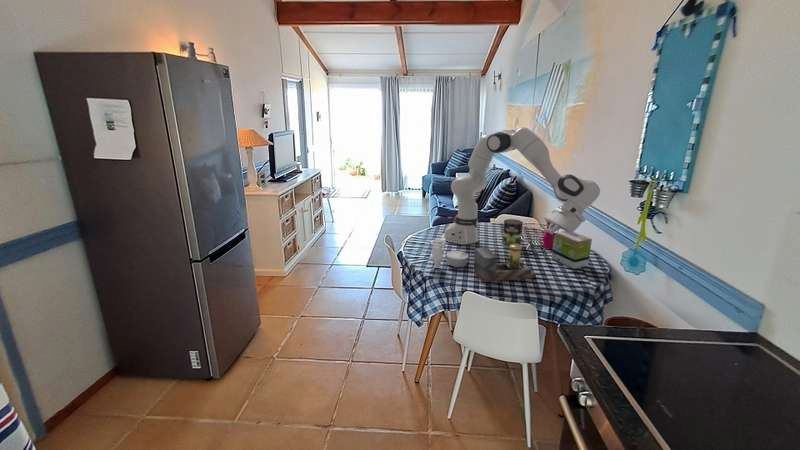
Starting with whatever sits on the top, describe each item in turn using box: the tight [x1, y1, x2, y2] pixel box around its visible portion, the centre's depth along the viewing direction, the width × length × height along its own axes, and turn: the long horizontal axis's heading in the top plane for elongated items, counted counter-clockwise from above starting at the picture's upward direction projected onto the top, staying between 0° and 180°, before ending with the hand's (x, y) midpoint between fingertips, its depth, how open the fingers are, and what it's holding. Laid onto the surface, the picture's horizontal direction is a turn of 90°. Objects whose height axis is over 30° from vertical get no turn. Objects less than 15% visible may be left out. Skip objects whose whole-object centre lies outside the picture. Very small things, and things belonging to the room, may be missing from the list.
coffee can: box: [501, 218, 524, 249], centre depth 213 cm, size 10×10×14 cm
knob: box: [505, 243, 523, 270], centre depth 174 cm, size 6×6×12 cm
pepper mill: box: [542, 220, 555, 250], centre depth 208 cm, size 7×7×20 cm
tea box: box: [551, 230, 593, 270], centre depth 188 cm, size 15×10×15 cm, turn 23°
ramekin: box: [445, 250, 470, 268], centre depth 188 cm, size 11×11×5 cm
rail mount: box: [473, 247, 537, 283], centre depth 174 cm, size 26×12×12 cm, turn 99°
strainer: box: [430, 238, 446, 268], centre depth 182 cm, size 7×7×15 cm
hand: (548, 232), depth 174 cm, fingers closed
